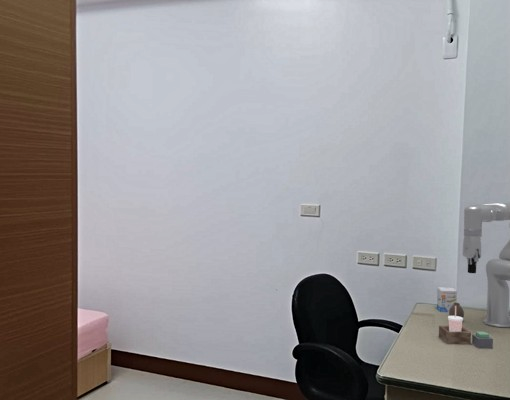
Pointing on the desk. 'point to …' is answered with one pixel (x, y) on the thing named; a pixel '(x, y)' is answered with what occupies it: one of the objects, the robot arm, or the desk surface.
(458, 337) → the open wooden cube shelf
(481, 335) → the button
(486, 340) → the button housing
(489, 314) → the robot arm
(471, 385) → the desk surface
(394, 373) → the desk surface
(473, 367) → the desk surface
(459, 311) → the vase
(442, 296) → the ink box
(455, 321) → the beverage cup
